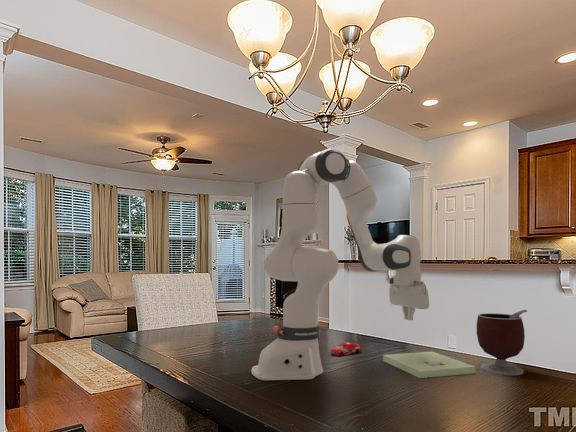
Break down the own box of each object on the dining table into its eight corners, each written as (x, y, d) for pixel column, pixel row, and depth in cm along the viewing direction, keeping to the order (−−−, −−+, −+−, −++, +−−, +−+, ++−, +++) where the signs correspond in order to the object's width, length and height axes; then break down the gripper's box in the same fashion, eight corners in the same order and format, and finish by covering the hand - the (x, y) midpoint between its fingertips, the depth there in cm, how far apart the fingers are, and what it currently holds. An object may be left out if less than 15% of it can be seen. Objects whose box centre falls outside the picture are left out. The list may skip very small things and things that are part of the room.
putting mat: (420, 378, 126) (419, 371, 126) (383, 360, 147) (382, 355, 147) (475, 373, 132) (475, 366, 132) (432, 357, 153) (432, 351, 153)
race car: (336, 358, 152) (336, 346, 153) (327, 355, 157) (327, 344, 157) (364, 353, 159) (363, 342, 160) (354, 350, 164) (354, 340, 164)
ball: (432, 368, 133) (429, 355, 135) (426, 371, 136) (423, 358, 138) (444, 368, 134) (440, 355, 136) (437, 370, 137) (434, 357, 139)
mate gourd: (469, 368, 137) (467, 306, 139) (491, 362, 145) (488, 303, 147) (519, 380, 125) (516, 311, 127) (539, 372, 133) (536, 307, 135)
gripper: (433, 281, 142) (434, 323, 140) (400, 279, 162) (401, 316, 160) (417, 281, 140) (417, 323, 139) (386, 279, 160) (386, 316, 158)
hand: (408, 319), depth 149 cm, fingers closed
